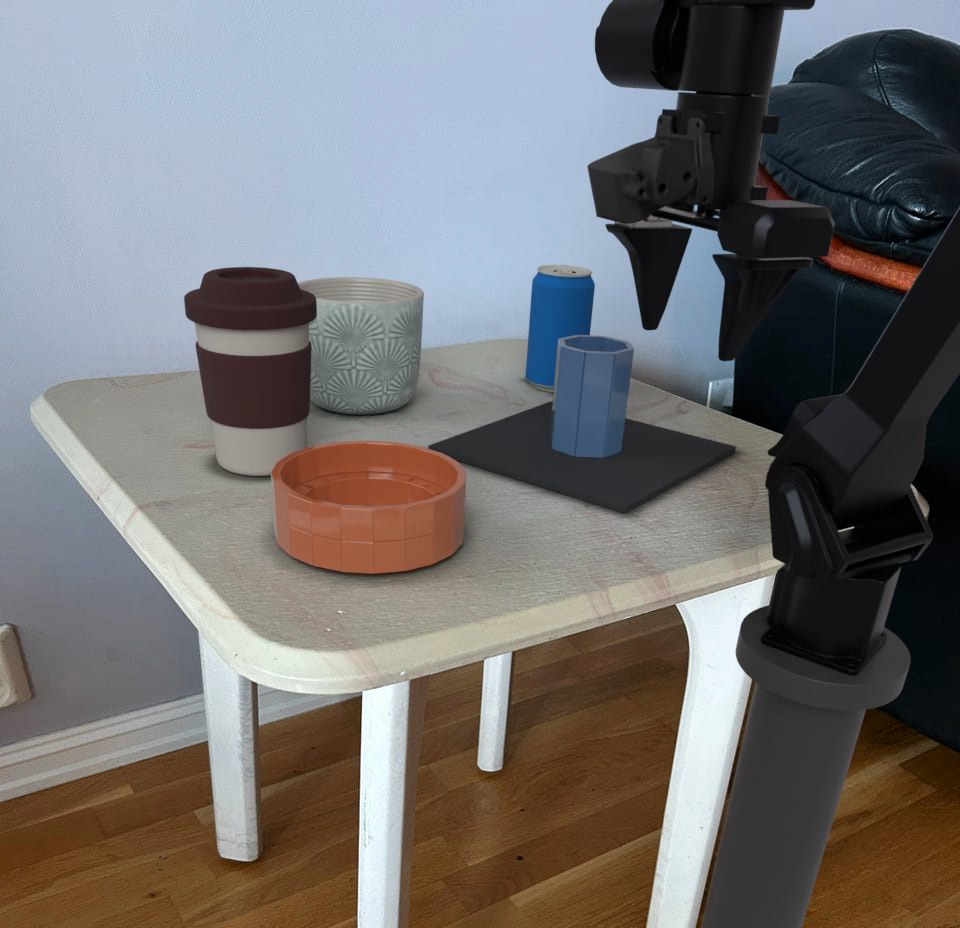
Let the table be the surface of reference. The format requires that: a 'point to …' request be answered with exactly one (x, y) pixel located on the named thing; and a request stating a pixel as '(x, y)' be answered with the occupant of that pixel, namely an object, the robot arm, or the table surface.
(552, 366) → the beverage can
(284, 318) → the coffee cup
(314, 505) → the bowl
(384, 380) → the planter
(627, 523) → the table surface
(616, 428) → the blue cup
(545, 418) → the mat
